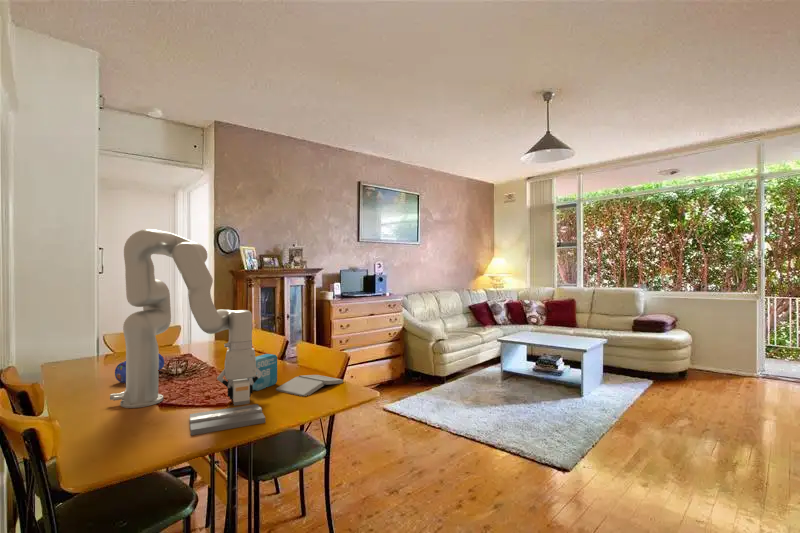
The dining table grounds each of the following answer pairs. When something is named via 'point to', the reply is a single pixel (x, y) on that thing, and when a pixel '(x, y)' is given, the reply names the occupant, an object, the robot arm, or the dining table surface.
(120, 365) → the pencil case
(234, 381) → the module
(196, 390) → the dining table surface
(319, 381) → the grey bent flat piece
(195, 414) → the rail board
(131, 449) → the dining table surface
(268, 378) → the data package
